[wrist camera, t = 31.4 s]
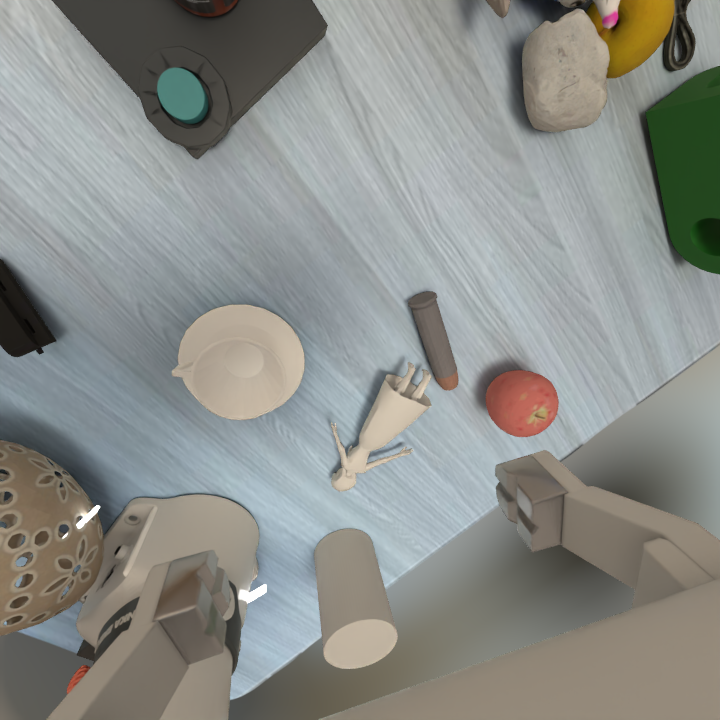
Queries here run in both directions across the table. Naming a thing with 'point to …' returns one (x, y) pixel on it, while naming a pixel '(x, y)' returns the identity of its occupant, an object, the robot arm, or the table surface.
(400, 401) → the woman figurine
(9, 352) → the track light
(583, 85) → the pebble
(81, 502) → the ornament
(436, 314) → the grey cylindrical rod
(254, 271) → the table surface
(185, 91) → the button
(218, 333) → the teacup
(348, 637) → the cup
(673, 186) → the slotted cylinder bracket
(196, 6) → the supplement bottle
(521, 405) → the apple
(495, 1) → the grey wedge
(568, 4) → the blue mole toy
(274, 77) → the black button pad
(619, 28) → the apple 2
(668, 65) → the composite cable
